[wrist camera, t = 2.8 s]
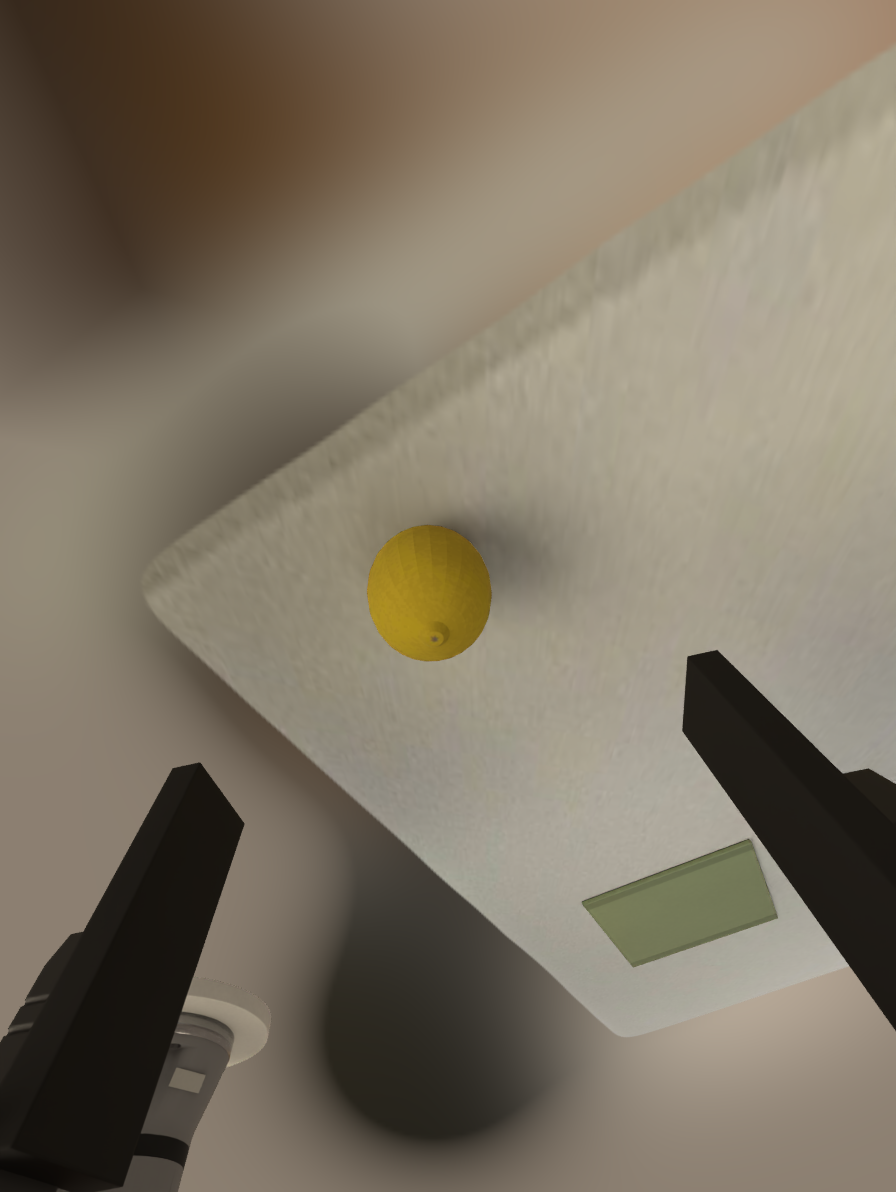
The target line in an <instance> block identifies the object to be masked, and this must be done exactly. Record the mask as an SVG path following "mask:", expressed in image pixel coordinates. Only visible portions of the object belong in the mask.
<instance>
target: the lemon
mask: <svg viewBox="0 0 896 1192" xmlns="http://www.w3.org/2000/svg"><path fill="white" fill-rule="evenodd" d="M367 595H368V603H369V609H370V614H371V617H372V619H373V621H374V623H375V625H376V628H377V630H378V632H379V633H380V635H381V636H382V637H383V638H384V639H385V641H386V642H387V643H388V644H389V645H390V646H391V647H392V648H394V649H395V650H396V651H398V652H399V653H401V654H402V655H405V656H407V657H410V658H412V659H415V660H421V661H440V660H444V659H448V658H452V657H454V656H456V655H458V654H460V653H462V652H463V651H464V650H466V649H467V648H468V647H469V646H471V645H472V644H473V643H474V642H475V640H476V639H477V638H478V637H479V635H480V634H481V633H482V631H483V629H484V626H485V624H486V622H487V619H488V616H489V611H490V604H491V596H492V592H491V584H490V577H489V573H488V570H487V568H486V566H485V563H484V561H483V559H482V557H481V555H480V554H479V552H478V551H477V550H476V549H475V548H474V546H473V545H472V544H471V543H470V542H469V541H468V540H467V539H466V538H464V537H463V536H461V535H460V534H458V533H457V532H455V531H453V530H450V529H447V528H444V527H442V526H432V525H424V526H416V527H412V528H409V529H407V530H404V531H402V532H400V533H398V534H397V535H396V536H394V537H393V538H391V539H390V540H389V541H388V542H387V543H386V544H385V545H384V546H383V548H382V549H381V550H380V551H379V553H378V554H377V556H376V558H375V560H374V563H373V565H372V567H371V570H370V573H369V580H368V587H367Z"/></svg>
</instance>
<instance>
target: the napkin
mask: <svg viewBox="0 0 896 1192" xmlns="http://www.w3.org/2000/svg"><path fill="white" fill-rule="evenodd" d="M582 904H583V906H584V907H585V908H586V910H587V911H588V912H589V913H590V914H591V916H592V917H593V918H594V919H595V921H596V922H597V923H598V924H599V926H600V927H601V928H602V929H603V931H604V932H605V933H606V934H607V936H608V937H609V938H610V939H611V941H612V942H613V943H614V944H615V945H616V947H617V948H618V949H619V950H620V952H621V953H622V954H623V955H624V957H625V958H626V959H627V960H628V962H629V963H630V964H631V965H632V967H636V966H639V965H642V964H645V963H648V962H651V961H654V960H657V959H660V958H663V957H666V956H669V955H671V954H674V953H677V952H680V951H683V950H686V949H689V948H692V947H695V946H698V945H701V944H704V943H707V942H710V941H713V940H715V939H718V938H721V937H724V936H727V935H730V934H733V933H736V932H739V931H742V930H745V929H748V928H751V927H754V926H757V925H759V924H762V923H765V922H768V921H771V920H774V919H777V918H778V917H777V914H776V911H775V908H774V905H773V902H772V900H771V897H770V894H769V891H768V888H767V885H766V883H765V880H764V877H763V874H762V871H761V868H760V866H759V863H758V860H757V857H756V854H755V851H754V848H753V846H752V843H751V841H750V840H746V841H743V842H741V843H738V844H735V845H733V846H730V847H727V848H725V849H722V850H719V851H717V852H714V853H711V854H709V855H706V856H703V857H701V858H698V859H695V860H693V861H690V862H687V863H685V864H682V865H679V866H677V867H674V868H671V869H669V870H666V871H663V872H661V873H658V874H655V875H653V876H650V877H647V878H645V879H642V880H639V881H637V882H634V883H631V884H629V885H626V886H623V887H621V888H618V889H615V890H613V891H610V892H607V893H605V894H602V895H599V896H597V897H594V898H591V899H589V900H586V901H583V902H582Z"/></svg>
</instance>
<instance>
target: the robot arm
mask: <svg viewBox="0 0 896 1192" xmlns="http://www.w3.org/2000/svg"><path fill="white" fill-rule="evenodd" d="M682 731H683V733H684V734H685V735H686V737H687V738H688V740H689V741H690V742H691V744H692V745H693V747H694V748H695V749H696V751H697V752H698V754H699V755H700V756H701V758H702V759H703V761H704V762H705V764H706V765H707V766H708V768H709V769H710V771H711V772H712V773H713V775H714V776H715V778H716V779H717V780H718V782H719V783H720V785H721V786H722V787H723V789H724V790H725V792H726V793H727V794H728V796H729V797H730V799H731V800H732V801H733V803H734V804H735V806H736V807H737V808H738V810H739V811H740V813H741V814H742V816H743V817H744V818H745V820H746V821H747V823H748V824H749V825H750V827H751V828H752V830H753V831H754V832H755V834H756V835H757V837H758V838H759V839H760V841H761V842H762V844H763V845H764V846H765V848H766V849H767V851H768V852H769V853H770V855H771V856H772V858H773V859H774V860H775V862H776V863H777V865H778V866H779V868H780V869H781V870H782V872H783V873H784V875H785V876H786V877H787V879H788V880H789V882H790V883H791V884H792V886H793V887H794V889H795V890H796V891H797V893H798V894H799V896H800V897H801V898H802V900H803V901H804V903H805V904H806V905H807V907H808V908H809V910H810V911H811V912H812V914H813V915H814V917H815V918H816V919H817V921H818V922H819V924H820V925H821V927H822V928H823V929H824V931H825V932H826V934H827V935H828V936H829V938H830V939H831V941H832V942H833V943H834V945H835V946H836V948H837V949H838V950H839V952H840V953H841V955H842V956H843V957H844V959H845V960H846V962H847V963H848V964H849V966H850V967H851V969H852V970H853V971H854V973H855V974H856V975H857V977H858V978H859V980H860V981H861V983H862V984H863V986H864V987H865V988H866V990H867V991H868V993H869V994H870V995H871V997H872V998H873V999H874V1001H875V1002H876V1004H877V1005H878V1007H879V1008H880V1009H881V1011H882V1012H883V1014H884V1015H885V1016H886V1018H887V1019H888V1020H889V1022H890V1023H891V1025H892V1026H893V1028H894V1029H895V1030H896V784H895V783H893V782H891V781H890V780H888V779H886V778H884V777H883V776H881V775H879V774H877V773H876V772H874V771H872V770H870V769H869V768H868V769H864V770H859V771H854V772H849V773H844V774H842V773H841V772H840V771H839V770H838V769H837V768H836V767H835V766H834V765H833V764H832V763H831V762H830V761H829V760H828V759H827V758H826V757H825V756H824V755H823V754H822V753H821V752H820V751H819V750H818V749H817V748H816V747H815V746H814V745H813V744H812V743H811V742H810V741H809V740H808V739H807V738H806V737H805V736H804V735H803V734H802V733H801V732H800V731H799V730H798V729H797V728H796V727H795V726H794V725H793V724H792V723H791V722H790V721H789V720H788V719H787V718H786V717H785V716H784V715H782V714H781V713H780V712H779V711H778V710H777V709H776V708H775V707H774V706H773V705H772V704H771V703H770V702H769V701H768V700H767V699H766V698H765V697H764V696H763V695H762V694H761V693H760V692H759V691H758V690H757V689H756V688H755V687H754V686H753V685H752V684H751V683H750V682H749V681H748V680H747V679H746V678H745V677H744V676H743V675H742V674H741V673H740V672H739V671H738V670H737V669H736V668H735V667H734V666H733V665H732V664H731V663H730V662H729V661H728V660H727V659H726V658H725V657H724V656H723V655H722V654H721V653H720V652H719V651H718V650H715V651H710V652H706V653H701V654H696V655H692V656H688V658H687V672H686V686H685V700H684V714H683V728H682ZM243 827H244V822H243V821H242V820H241V818H240V817H239V815H238V814H237V813H236V811H235V810H234V808H233V807H232V806H231V804H230V803H229V802H228V800H227V799H226V797H225V796H224V795H223V793H222V792H221V790H220V789H219V788H218V786H217V785H216V784H215V782H214V781H213V780H212V778H211V777H210V775H209V774H208V773H207V771H206V770H205V768H204V767H203V766H202V764H201V763H195V764H191V765H186V766H181V767H177V768H173V769H172V771H171V773H170V774H169V776H168V778H167V780H166V782H165V783H164V785H163V787H162V789H161V791H160V793H159V794H158V796H157V798H156V800H155V802H154V804H153V805H152V807H151V809H150V811H149V813H148V815H147V817H146V818H145V820H144V822H143V824H142V826H141V827H140V829H139V831H138V833H137V835H136V836H135V838H134V840H133V842H132V844H131V846H130V847H129V849H128V851H127V853H126V855H125V857H124V858H123V860H122V862H121V864H120V866H119V868H118V869H117V871H116V873H115V875H114V877H113V879H112V880H111V882H110V884H109V886H108V888H107V889H106V891H105V893H104V895H103V897H102V899H101V901H100V902H99V904H98V906H97V908H96V910H95V912H94V913H93V915H92V917H91V919H90V920H89V922H88V924H87V926H86V928H85V930H84V932H80V933H75V934H71V935H70V936H69V937H68V939H67V940H66V941H65V942H64V943H63V944H62V946H61V947H60V948H59V949H58V950H57V952H56V953H55V954H54V955H53V956H52V958H51V959H50V960H49V961H48V962H47V964H46V965H45V966H44V968H43V970H42V971H41V973H40V975H39V976H38V978H37V980H36V982H35V983H34V985H33V987H32V989H31V990H30V992H29V994H28V995H27V997H26V999H25V1001H26V1002H25V1005H24V1006H22V1007H21V1008H20V1009H19V1011H18V1013H17V1014H16V1016H15V1018H14V1020H13V1021H12V1023H11V1025H10V1026H9V1028H8V1029H9V1032H8V1034H7V1035H6V1036H4V1037H3V1039H2V1040H1V1042H0V1192H178V1189H179V1185H180V1181H181V1177H182V1174H183V1170H184V1166H185V1162H186V1158H187V1155H188V1150H189V1147H190V1144H191V1140H192V1137H193V1134H194V1132H195V1130H196V1128H197V1126H198V1123H199V1121H200V1119H201V1118H202V1116H203V1113H204V1111H205V1109H206V1107H207V1105H208V1103H209V1101H210V1099H211V1097H212V1095H213V1093H214V1091H215V1089H216V1087H217V1084H218V1082H219V1080H220V1078H221V1076H222V1073H223V1072H224V1070H225V1068H226V1066H227V1064H228V1062H229V1059H230V1055H231V1051H232V1047H233V1043H234V1034H233V1032H232V1030H231V1029H230V1028H229V1027H228V1026H226V1025H225V1024H224V1023H222V1022H220V1021H218V1020H216V1019H213V1018H210V1017H207V1016H204V1015H200V1014H195V1013H189V1012H182V1009H183V1006H184V1003H185V1000H186V997H187V994H188V991H189V988H190V985H191V982H192V979H193V976H194V973H195V970H196V967H197V964H198V961H199V958H200V955H201V952H202V949H203V946H204V943H205V940H206V937H207V934H208V931H209V928H210V925H211V922H212V919H213V916H214V913H215V910H216V907H217V904H218V901H219V898H220V896H221V892H222V890H223V887H224V884H225V881H226V878H227V874H228V871H229V868H230V866H231V863H232V860H233V857H234V854H235V851H236V847H237V845H238V841H239V839H240V836H241V833H242V830H243Z"/></svg>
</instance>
